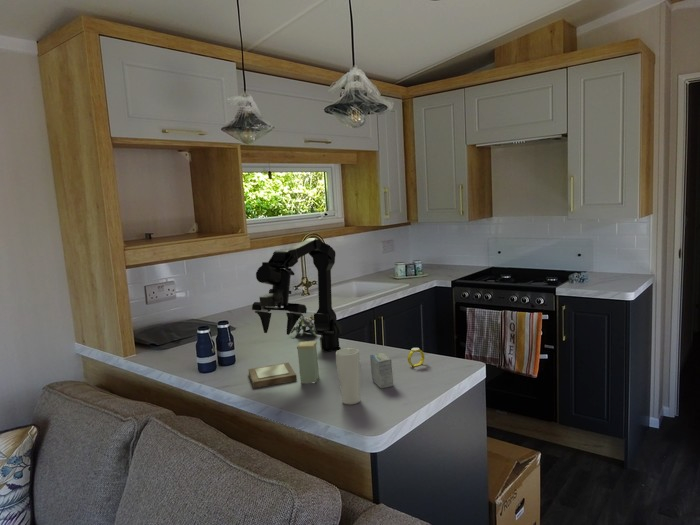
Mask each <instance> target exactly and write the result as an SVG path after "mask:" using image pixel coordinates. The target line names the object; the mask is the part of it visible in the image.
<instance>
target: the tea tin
mask: <svg viewBox="0 0 700 525" xmlns="http://www.w3.org/2000/svg"><path fill="white" fill-rule="evenodd" d="M296 349H297V357H298V368H299V378H300V384H312V383H311V382H316V381H317V382H318V380H319V379H320V375H319V374H320V373H319V363H318V352H317V351H318V350H317V340H316V341H315V340H314V341H313V340H312V341H310V340H309V341H300V342H299V343H298V344H297V345H296ZM318 378H319V379H318ZM317 379H318V380H317ZM317 382H316V383H317Z"/></svg>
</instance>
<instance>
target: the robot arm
mask: <svg viewBox="0 0 700 525" xmlns="http://www.w3.org/2000/svg"><path fill="white" fill-rule="evenodd" d="M307 254H308V255H309V256H311V258H312V262H313V263H312V264H313V265H314V268H316V270H317V277H318V278H317V285H318V286H317V292H318V309H317V310H316V312H315V313H313V317H314V320H313V324H314V326H315V329H316V331H315V333H316V335H320V337H319V345H320V349H321V350H322V351H323V350H324V351H327V352H332V351H331V350H333V351H337V350H336V349H339V350H340V349H342V348H341V346H340V341H339V340H340V337H339V335H341V333H342V331H343V326H342V325H341V324H340V323H339V321H337V314H336V312H335V311H334V309H333V302H332V269H333V267H334V265H335V262H336V256H337V255H336V251H335V249H334V248H333V247H332V246H331V245H330V244H327V243H326V242H324V241H322V240H321V239H320V238H317V237H313V238H311V237H308V238H307V239H305V240H303V241H301V242H300V243H297V244H295V245H294V246H291V247H289V248H284V249H283V248H282V249H278V250H275V251H273V253H272V255H271V257H270V258H269V259H268V261H264V262H263V261H262V262H261V264H262V265H260V266H259V267H258V268H257V270H256V271H255V279H256V281H257V282H258V283H261V284H266V285H268V286H269V285H270V286H271V287H272V288H269V290H268V293H265V294H263V295H261V296H259V297H258V298H259V301H255V302H253V304H252V305H251V311H254V313H255V314H257V315H258V316H259V320H260V321H261V325H262V329H263V333H264V334H268V331H269V327H270V322H271V318H272V312H271V311H283V312H286V313H285V314H286V316H287V324H286V335H288V336H289V335H290V334H292V333H291V331H292V330H293V328H294V327H295V325H297V324H296V323H298V322H299V321H298V320H299V319H300V316H301V317H302V316H304V314H307V311H308V309H307V306H306V305H305V304H302V303H296V302H295V303H292V302H291V303H290V302H289V299H290V298H289V296H290V295H292V290H290V288H291V286H290V285H291V276H295V272H294V271H293V270H292V267H294V266H295V265H296V264H297V263H298V262H299V259H300V258H302V257H304V256H306V255H307ZM324 351H323V352H324Z"/></svg>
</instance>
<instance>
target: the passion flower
mask: <svg viewBox="0 0 700 525" xmlns="http://www.w3.org/2000/svg"><path fill="white" fill-rule="evenodd" d="M299 319H300V320H299V321H297V323H298V325H297V324H296V326H294V327H293V329H292V331H291V333H290V334H293V332H294V331H295V332H296V333H295V338H298V337H297V336H298V335H299V334H300V332H301V330H302V332H303V334H304V333H306V332H307V329H306V328H308V329H309V332H310V333H311V335H312V336H315V335H316V336H317V333H316V329H315V326H314V315H309V318H308V317H307V316H306V315H303V316H300V318H299Z"/></svg>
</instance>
